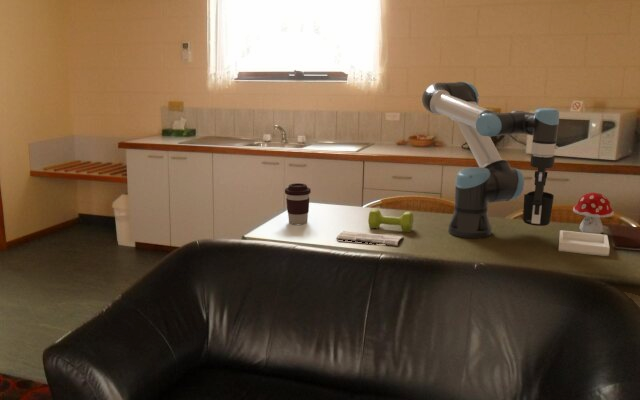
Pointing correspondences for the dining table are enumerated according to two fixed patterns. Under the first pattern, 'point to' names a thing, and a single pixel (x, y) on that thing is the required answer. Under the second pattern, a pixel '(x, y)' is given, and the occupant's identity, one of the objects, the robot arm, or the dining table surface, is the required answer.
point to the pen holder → (545, 210)
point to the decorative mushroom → (593, 212)
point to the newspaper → (369, 238)
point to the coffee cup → (297, 203)
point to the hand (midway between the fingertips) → (536, 219)
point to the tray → (584, 243)
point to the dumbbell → (391, 220)
